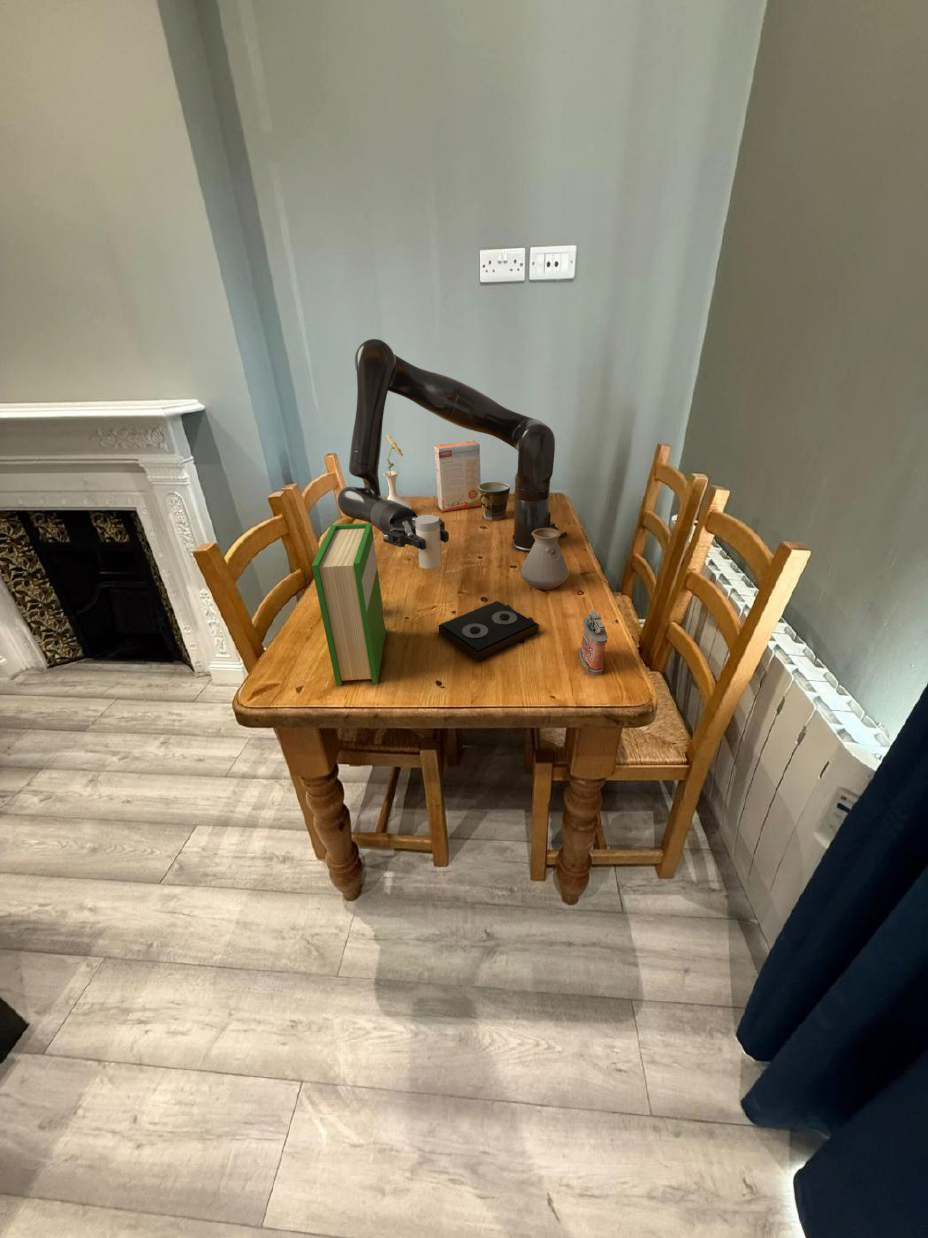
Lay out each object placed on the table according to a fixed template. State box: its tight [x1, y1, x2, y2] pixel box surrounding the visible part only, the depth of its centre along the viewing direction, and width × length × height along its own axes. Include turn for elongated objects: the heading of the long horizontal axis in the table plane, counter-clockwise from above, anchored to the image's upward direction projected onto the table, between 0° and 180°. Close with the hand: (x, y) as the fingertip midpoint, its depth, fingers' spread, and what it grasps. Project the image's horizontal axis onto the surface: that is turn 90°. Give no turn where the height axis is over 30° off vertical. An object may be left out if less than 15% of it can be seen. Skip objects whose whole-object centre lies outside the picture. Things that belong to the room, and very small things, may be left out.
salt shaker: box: [415, 514, 443, 570], centre depth 104 cm, size 5×5×10 cm
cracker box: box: [433, 440, 482, 512], centre depth 167 cm, size 14×6×21 cm, turn 108°
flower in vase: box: [382, 434, 413, 510], centre depth 162 cm, size 13×11×25 cm
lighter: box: [579, 610, 608, 676], centre depth 92 cm, size 8×3×10 cm, turn 5°
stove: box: [437, 600, 539, 663], centre depth 104 cm, size 17×13×3 cm
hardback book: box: [311, 522, 387, 687], centre depth 92 cm, size 18×7×24 cm, turn 3°
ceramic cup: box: [478, 481, 511, 521], centre depth 159 cm, size 13×10×10 cm
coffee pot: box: [520, 528, 570, 590], centre depth 115 cm, size 21×12×15 cm, turn 177°
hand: (435, 541), depth 102 cm, fingers closed on salt shaker, 5 cm apart
